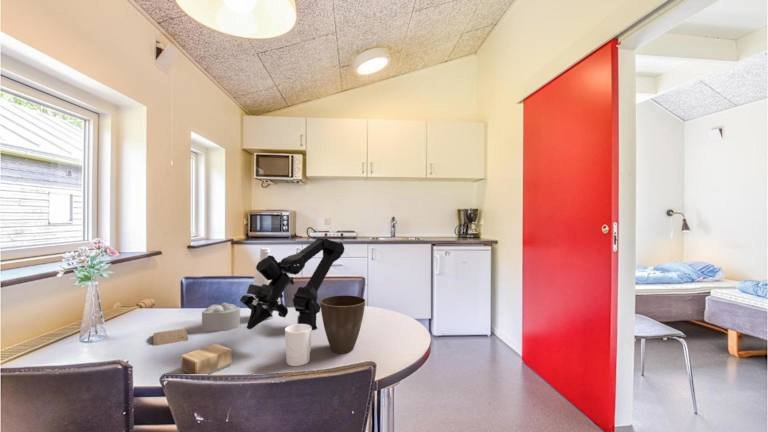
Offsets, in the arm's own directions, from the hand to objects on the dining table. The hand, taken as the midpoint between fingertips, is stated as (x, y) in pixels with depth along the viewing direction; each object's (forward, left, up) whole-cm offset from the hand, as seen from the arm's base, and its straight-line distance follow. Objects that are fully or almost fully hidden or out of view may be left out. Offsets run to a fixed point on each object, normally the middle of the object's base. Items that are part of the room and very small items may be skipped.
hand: (248, 328), depth 103 cm
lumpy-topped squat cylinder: (+9, -29, -7) cm, 31 cm away
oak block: (+7, +5, -5) cm, 10 cm away
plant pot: (-29, +10, -7) cm, 31 cm away
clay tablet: (+25, -23, -8) cm, 35 cm away
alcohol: (-7, -35, -7) cm, 37 cm away
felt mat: (+11, +8, -7) cm, 15 cm away
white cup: (-14, +14, -7) cm, 21 cm away
